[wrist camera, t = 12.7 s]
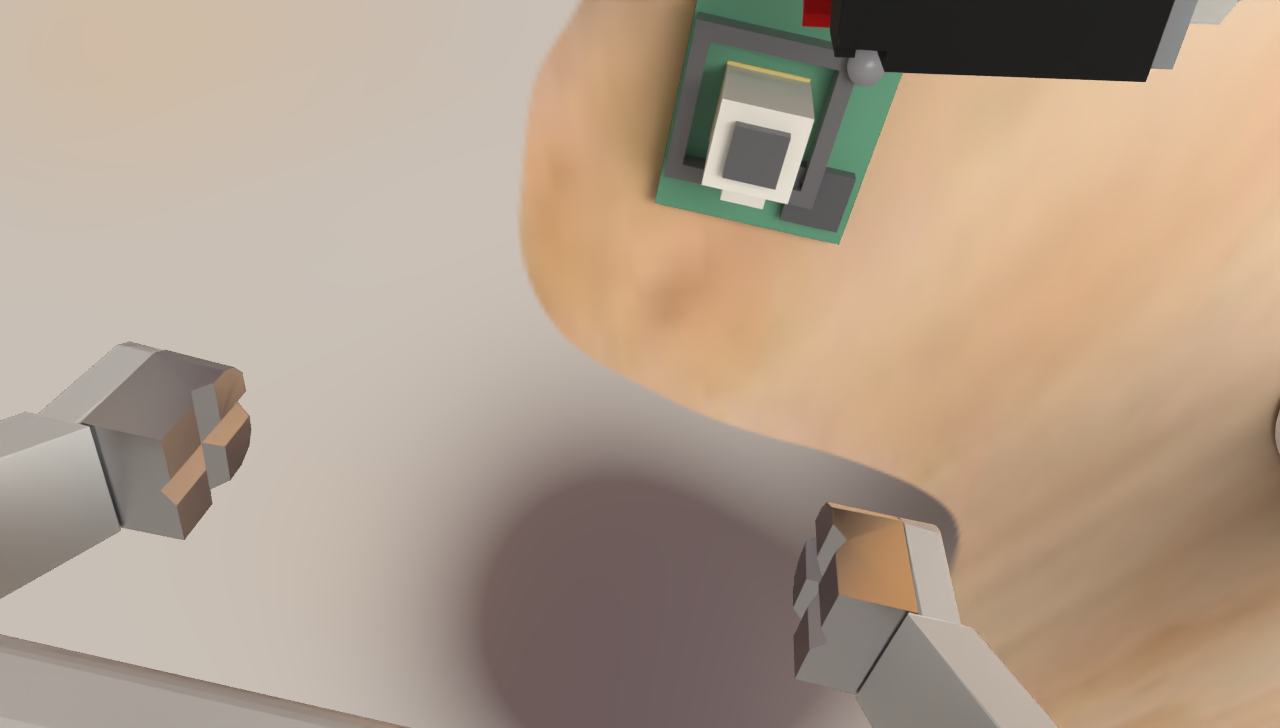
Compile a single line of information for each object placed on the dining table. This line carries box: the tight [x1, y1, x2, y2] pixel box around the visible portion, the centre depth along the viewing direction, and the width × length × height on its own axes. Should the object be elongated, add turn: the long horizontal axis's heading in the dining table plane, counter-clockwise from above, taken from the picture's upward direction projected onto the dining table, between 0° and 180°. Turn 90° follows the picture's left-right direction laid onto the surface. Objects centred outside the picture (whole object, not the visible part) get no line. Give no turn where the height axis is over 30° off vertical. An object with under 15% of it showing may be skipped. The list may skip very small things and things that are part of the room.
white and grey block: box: [701, 64, 815, 209], centre depth 38 cm, size 4×5×6 cm
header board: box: [655, 0, 902, 245], centre depth 40 cm, size 10×12×3 cm
